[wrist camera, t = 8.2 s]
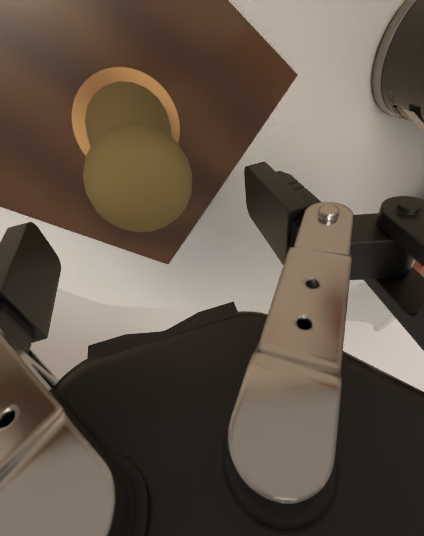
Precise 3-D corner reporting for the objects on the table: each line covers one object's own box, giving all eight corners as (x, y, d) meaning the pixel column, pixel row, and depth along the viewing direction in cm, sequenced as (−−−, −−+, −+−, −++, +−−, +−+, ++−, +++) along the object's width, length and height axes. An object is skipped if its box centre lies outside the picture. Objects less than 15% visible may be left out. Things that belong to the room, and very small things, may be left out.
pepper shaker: (73, 147, 21) (52, 227, 13) (102, 60, 18) (97, 91, 10) (150, 182, 24) (172, 263, 16) (184, 112, 21) (231, 167, 13)
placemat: (29, -211, 12) (28, -213, 12) (296, 74, 22) (297, 74, 22) (-51, 187, 20) (-52, 188, 20) (168, 263, 30) (168, 264, 30)
